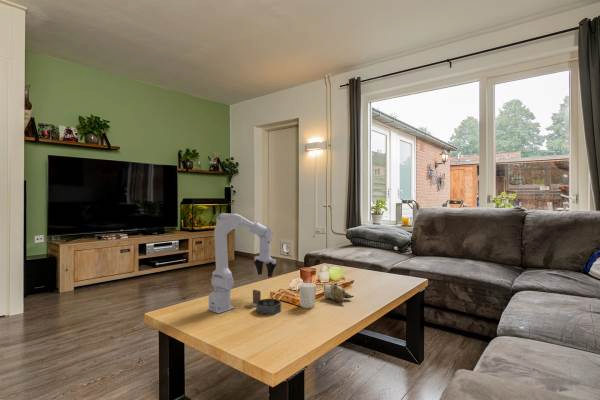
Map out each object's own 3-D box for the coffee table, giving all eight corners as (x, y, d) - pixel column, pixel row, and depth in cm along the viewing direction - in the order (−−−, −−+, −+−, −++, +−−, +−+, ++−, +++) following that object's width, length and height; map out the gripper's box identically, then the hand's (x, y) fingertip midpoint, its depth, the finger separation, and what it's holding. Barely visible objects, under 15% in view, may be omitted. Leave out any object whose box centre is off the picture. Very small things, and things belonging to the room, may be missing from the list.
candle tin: (269, 316, 143) (269, 308, 143) (251, 310, 150) (251, 303, 150) (285, 309, 152) (285, 302, 152) (268, 304, 158) (268, 297, 158)
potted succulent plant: (329, 278, 174) (355, 284, 165) (329, 294, 175) (354, 301, 166) (318, 282, 166) (344, 289, 157) (317, 299, 166) (343, 307, 157)
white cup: (314, 309, 152) (314, 287, 152) (297, 307, 154) (297, 286, 154) (317, 303, 160) (317, 283, 160) (301, 302, 162) (301, 282, 161)
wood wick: (256, 307, 155) (256, 292, 155) (249, 304, 158) (249, 290, 158) (264, 304, 159) (264, 290, 159) (256, 302, 162) (256, 288, 162)
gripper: (280, 250, 172) (280, 276, 172) (261, 247, 181) (261, 272, 181) (270, 252, 166) (270, 279, 167) (251, 249, 176) (251, 274, 176)
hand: (264, 275), depth 174 cm, fingers open, 7 cm apart
